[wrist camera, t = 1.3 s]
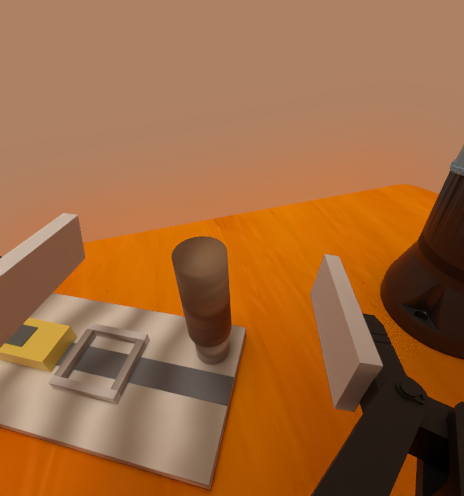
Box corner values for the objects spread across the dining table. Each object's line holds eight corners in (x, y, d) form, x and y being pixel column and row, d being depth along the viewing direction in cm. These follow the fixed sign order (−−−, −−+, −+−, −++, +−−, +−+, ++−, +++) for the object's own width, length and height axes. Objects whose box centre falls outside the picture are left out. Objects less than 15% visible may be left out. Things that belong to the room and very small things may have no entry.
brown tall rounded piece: (236, 335, 33) (232, 239, 24) (227, 372, 30) (218, 276, 21) (200, 329, 34) (183, 233, 25) (187, 363, 31) (162, 268, 22)
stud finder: (76, 336, 34) (69, 325, 33) (50, 371, 31) (41, 361, 29) (19, 324, 36) (10, 313, 34) (-11, 357, 32) (-23, 346, 31)
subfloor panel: (245, 335, 35) (245, 321, 33) (210, 490, 24) (207, 481, 22) (48, 298, 41) (40, 285, 39) (-54, 410, 30) (-73, 399, 28)
